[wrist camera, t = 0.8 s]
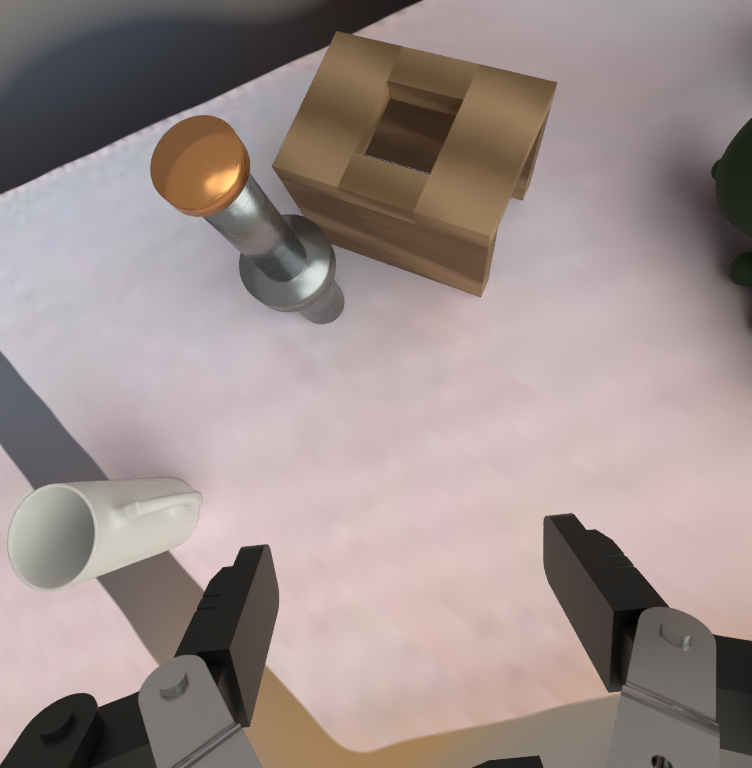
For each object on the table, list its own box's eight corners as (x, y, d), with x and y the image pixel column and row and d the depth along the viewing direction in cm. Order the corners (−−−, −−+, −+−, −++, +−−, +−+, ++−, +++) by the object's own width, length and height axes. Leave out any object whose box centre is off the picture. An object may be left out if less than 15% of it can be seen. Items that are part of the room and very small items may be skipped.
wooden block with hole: (366, 137, 42) (336, 31, 32) (529, 184, 39) (557, 82, 28) (319, 239, 42) (271, 166, 31) (480, 296, 38) (490, 236, 27)
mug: (143, 560, 40) (14, 605, 28) (128, 488, 41) (-1, 501, 30) (243, 527, 39) (152, 559, 27) (225, 453, 40) (130, 453, 29)
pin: (306, 258, 42) (168, 80, 22) (371, 282, 40) (286, 114, 20) (276, 323, 41) (106, 202, 21) (340, 350, 40) (222, 247, 20)
